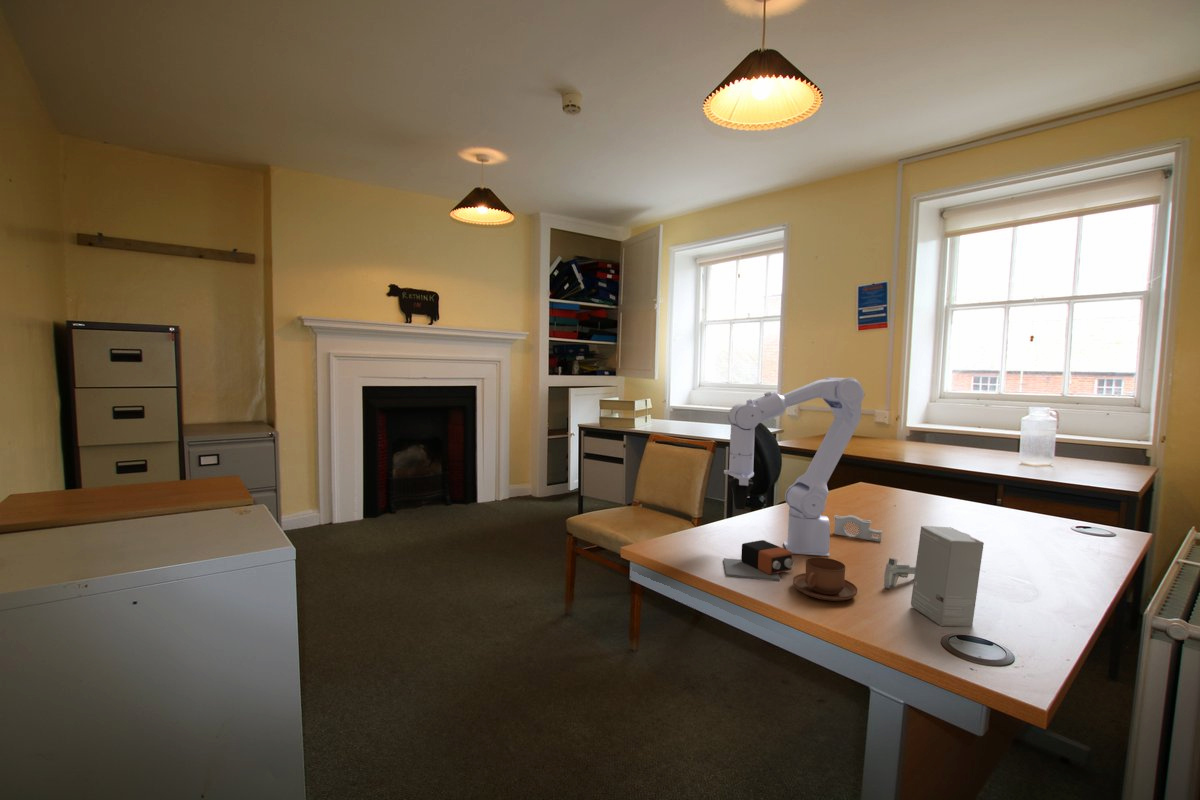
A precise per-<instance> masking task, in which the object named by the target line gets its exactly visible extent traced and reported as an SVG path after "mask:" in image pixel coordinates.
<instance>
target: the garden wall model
mask: <svg viewBox="0 0 1200 800" xmlns="http://www.w3.org/2000/svg"><path fill="white" fill-rule="evenodd" d="M833 519H834V532H833V534H834V535H839V536H844V537H849V538H852V539H853V538H854V539H855V538H856V539H862V540H868V541H873V542H874V541H875V542H879V543H881V542H882V536H883V535H882V534H883V533H884V531H883V530H881V529H879V530H877V529H874V528H871V524H872V520H870V519H869V520H868V519H862V518H860V517H858V516H855V515H854V514H853V515H852V514H849V515H845V516H841V515H837V514H834V515H833Z"/></svg>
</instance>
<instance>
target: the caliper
mask: <svg viewBox="0 0 1200 800" xmlns="http://www.w3.org/2000/svg"><path fill="white" fill-rule="evenodd" d="M887 562H888V563H886V565H885V571H884V577H883V578H884V580H883V587H884V588H885V589H888V590H891V588H892V589H895V588H896V586H897V583H898V580H899V578H902V579H903V578H905V579H906V578H908V577H909V575H915V569H916V565H909V564H906V563H900V562H899V563H898V559H896V558H892V557H889V558H888V561H887Z"/></svg>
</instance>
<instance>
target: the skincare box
mask: <svg viewBox="0 0 1200 800" xmlns="http://www.w3.org/2000/svg"><path fill="white" fill-rule="evenodd" d="M984 545H985V543H984V542H983V541H982V540H979V539H977V538H975V537H973V536H971V534H969V533H965V532H962V531H959V530H958V529H955V528H954V527H951V526H949V527H948V526H933V525H921V526H920V533H919V541H918V546H917V555H916V561H915V562H916V563H915V566H916V569H915V574H914V576H913V583H912V584H913V585H912V591H911V592H912V594H911V599H910V605H911V607H912V608H913V609H914V610H917V611H918V612H920V613H921V614H922V615H924V616H926V617H927V618H928V619H930V620H931V621H933V622H934V623H936V624H938V625H939V626H940V627H941V626H942V627H949V626H950V627H954V626H956V627H970V626H971V627H972V626H973V623H974V617H975V616H974V615H975V609H976V603H977V596H978V595H977V594H978V588H979V582H980V581H979V580H980V579H979V578H980V571H981V566H982V565H981V564H982V558H983V551H984Z"/></svg>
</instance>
